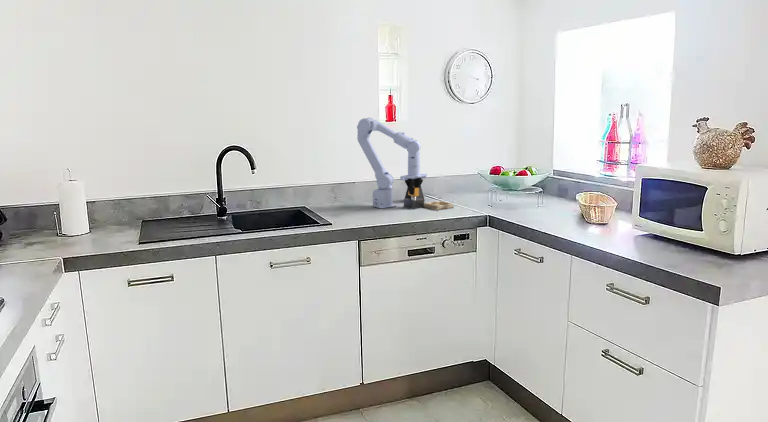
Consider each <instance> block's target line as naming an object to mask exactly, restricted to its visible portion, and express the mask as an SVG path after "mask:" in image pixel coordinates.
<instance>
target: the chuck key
mask: <svg viewBox="0 0 768 422" xmlns="http://www.w3.org/2000/svg"><path fill="white" fill-rule="evenodd" d="M409 195H411V194H409ZM416 196H419V188H418V187H414V188H413V195H411V200H416Z"/></svg>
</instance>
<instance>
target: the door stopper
mask: <svg viewBox="0 0 768 422" xmlns="http://www.w3.org/2000/svg"><path fill="white" fill-rule="evenodd" d="M412 180H413V179H412ZM407 198H411V195H409V190H408V187H407V188H406V192H405V195H404V199H407ZM416 198H420V199H424V202H426V201H425V196H424V192H423V189H422V185H421V186H420V188H419V196H416ZM404 199H403V200H404Z"/></svg>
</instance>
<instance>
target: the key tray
mask: <svg viewBox="0 0 768 422" xmlns="http://www.w3.org/2000/svg"><path fill="white" fill-rule="evenodd" d="M454 206H455V205H454V203H451V202H447V201H442V200H437V201H429V202H424V208H426V209H429V210H434V211H441V210H442V211H443V210H449V209H454Z"/></svg>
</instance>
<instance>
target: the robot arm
mask: <svg viewBox="0 0 768 422" xmlns="http://www.w3.org/2000/svg"><path fill="white" fill-rule="evenodd" d="M356 129H357V142H358V144H359V146H360V147H361V149H362V151H363V153H364V155H365V157H366V159H367V160H368V161H367V162H369V164H370V166H371V168H372V170H373V172H374V178H375V180H376V185H377V189H374V190H373V192H372V206H371V207H375V208H378V209H386V208H393V207H397V204H394V202H393V201H394V199H393V198H394V191H393V189H394V188H393V186H392V185H393V183H394V177H393V175H392V174H391V173H389V171H388V170H387V169H386V168H385V167H384V165H383V163H382V161H381V159H380V157H379V156H378V154H377V152H376V150H375V147H373V144H372V143H371V140H370V137H371V133H372V132H374V131H375V132H376V131H378V132H380V133H382V134H384V135H385V136H387V137H388V138H391V139H392V140H393V143H395V144H396V145H397V146H399V147H401V148H403V149H405V150H407V174H405V175H400V181H404V182H405V185H406V186H407V187H408V190H409V194H411V195H413V188H414V187H418V188H420V186H421V187H422V183H423V181H424V179H427V178H428V174H426V173H421V171H420V169H421V157H420V151H421V148H422V145H421V143H420V142H419V141H418V140H416V139H414V138H413V137H410V136H408V135H406V133H405V132H403V131H402V132H401V131H398V132H396V131H394V130H393V129H391V128H390V127H388V126H387V125H385V124H384V123H382V122H380V121H378V120H377V119H374V118H372V117H367V118H361V119H360V120H359V121H358V123H357V125H356ZM412 179H413V180H412Z"/></svg>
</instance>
